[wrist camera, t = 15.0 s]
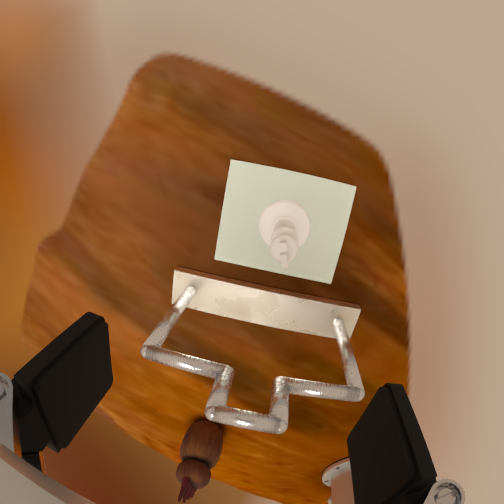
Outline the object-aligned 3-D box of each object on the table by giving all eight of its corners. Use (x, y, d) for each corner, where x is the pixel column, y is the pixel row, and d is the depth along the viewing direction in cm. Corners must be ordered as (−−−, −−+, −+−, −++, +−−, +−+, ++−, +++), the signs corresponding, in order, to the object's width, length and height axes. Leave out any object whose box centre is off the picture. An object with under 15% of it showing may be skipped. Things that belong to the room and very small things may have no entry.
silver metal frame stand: (347, 334, 31) (379, 455, 15) (175, 298, 32) (99, 398, 16) (358, 304, 30) (406, 420, 14) (178, 266, 31) (91, 357, 15)
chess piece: (308, 197, 27) (321, 216, 17) (312, 248, 28) (324, 291, 18) (255, 202, 27) (239, 223, 18) (261, 252, 29) (249, 297, 19)
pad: (329, 281, 30) (330, 283, 29) (216, 256, 30) (214, 259, 29) (354, 186, 26) (356, 186, 26) (232, 159, 27) (231, 159, 26)
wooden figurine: (192, 410, 38) (161, 491, 23) (229, 420, 38) (209, 505, 23) (187, 433, 40) (160, 506, 26) (221, 443, 40) (202, 518, 25)
